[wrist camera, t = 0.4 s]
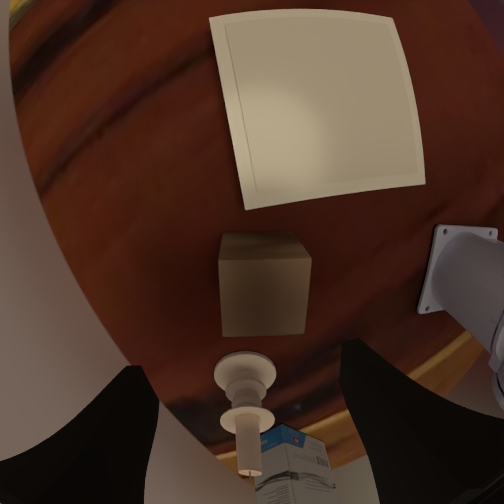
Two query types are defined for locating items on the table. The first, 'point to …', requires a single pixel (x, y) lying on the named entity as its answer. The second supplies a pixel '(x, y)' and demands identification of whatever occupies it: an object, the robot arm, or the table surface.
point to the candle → (246, 404)
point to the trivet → (317, 104)
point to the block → (263, 283)
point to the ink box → (294, 469)
